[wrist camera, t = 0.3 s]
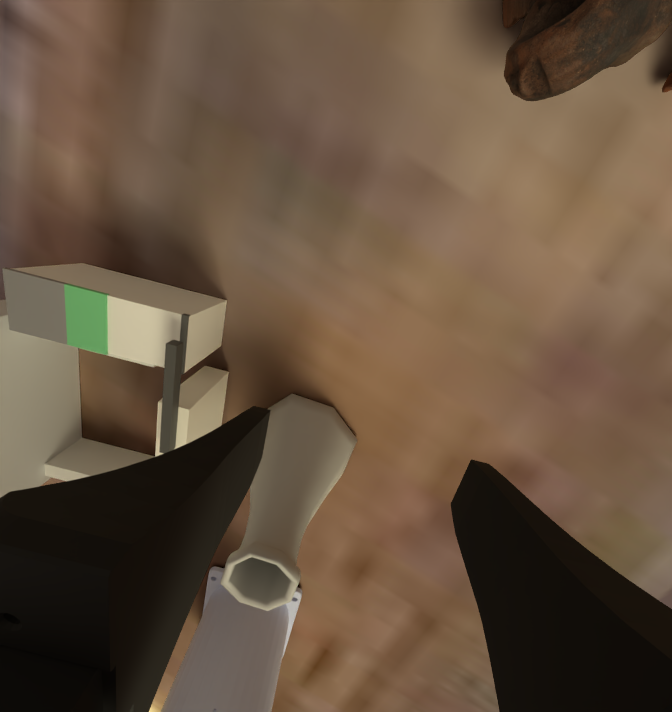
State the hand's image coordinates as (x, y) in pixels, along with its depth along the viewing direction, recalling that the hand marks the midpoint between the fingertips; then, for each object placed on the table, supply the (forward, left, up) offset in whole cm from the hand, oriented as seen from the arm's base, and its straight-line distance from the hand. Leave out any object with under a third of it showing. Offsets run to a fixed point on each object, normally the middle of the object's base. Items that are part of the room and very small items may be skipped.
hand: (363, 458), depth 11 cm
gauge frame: (-6, +15, -9) cm, 18 cm away
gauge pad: (-5, +9, -9) cm, 14 cm away
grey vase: (-7, +2, -10) cm, 12 cm away
